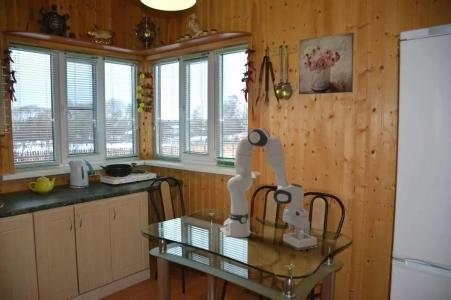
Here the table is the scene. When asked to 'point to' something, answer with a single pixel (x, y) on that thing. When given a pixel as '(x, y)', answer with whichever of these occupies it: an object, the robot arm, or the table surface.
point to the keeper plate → (299, 239)
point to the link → (293, 240)
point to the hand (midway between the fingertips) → (294, 232)
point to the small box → (304, 229)
